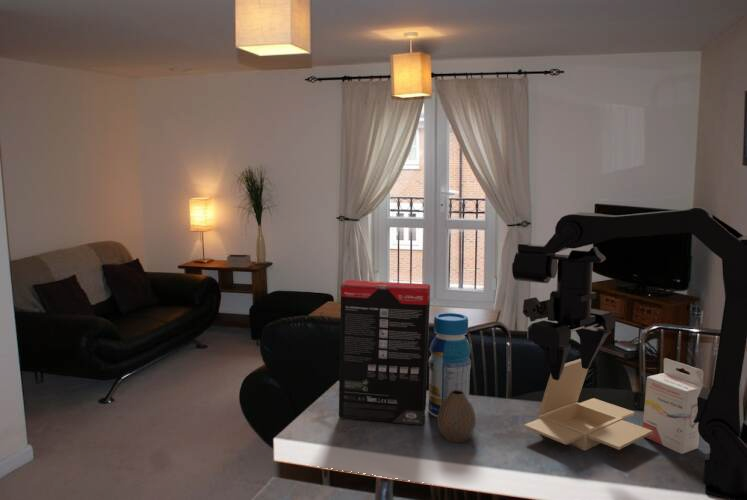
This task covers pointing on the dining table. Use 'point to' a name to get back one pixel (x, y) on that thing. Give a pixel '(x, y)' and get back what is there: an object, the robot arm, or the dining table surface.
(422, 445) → the dining table surface
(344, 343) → the graphics card box
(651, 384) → the ink cartridge box
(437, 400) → the beverage bottle
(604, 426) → the carton
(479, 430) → the dining table surface
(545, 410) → the flap
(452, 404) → the vase
